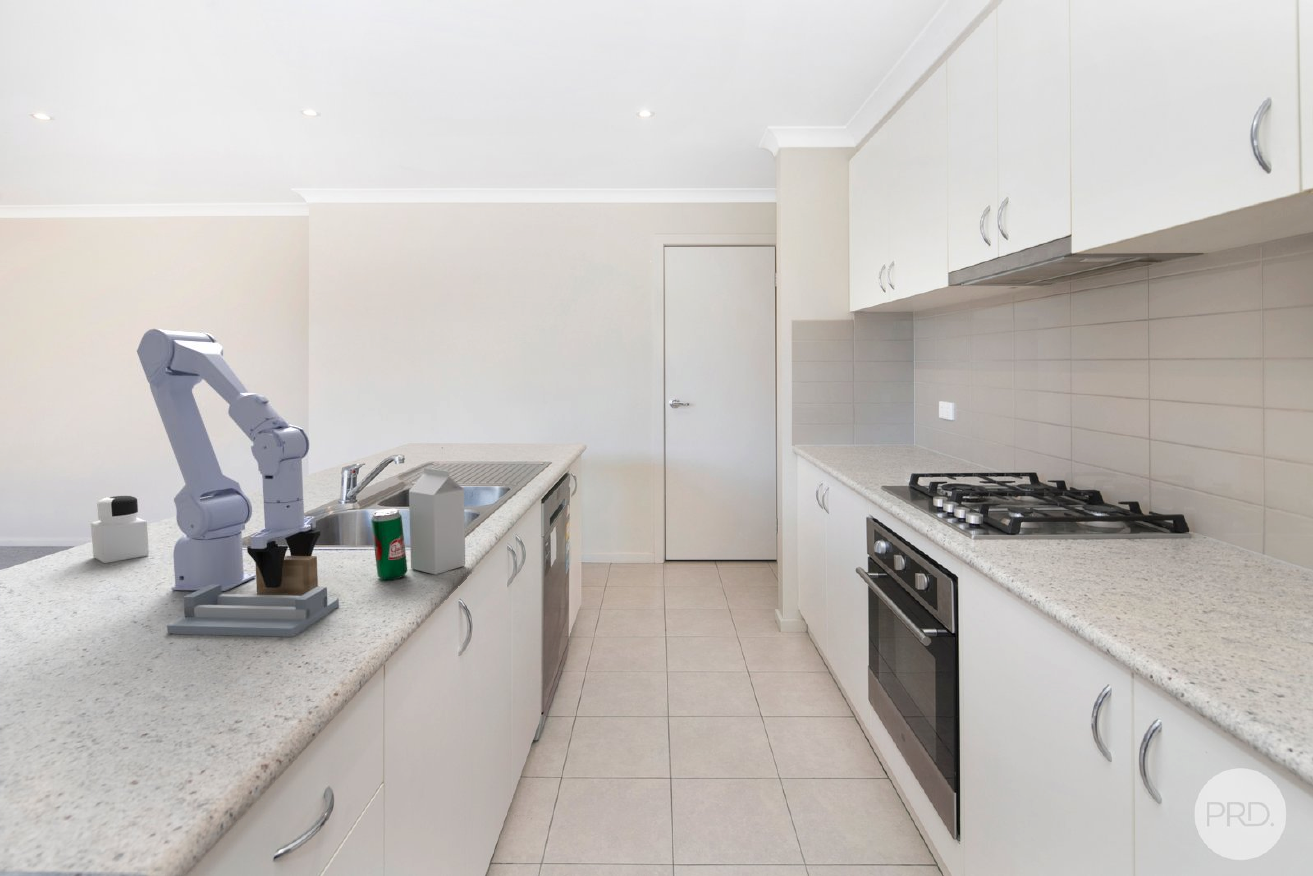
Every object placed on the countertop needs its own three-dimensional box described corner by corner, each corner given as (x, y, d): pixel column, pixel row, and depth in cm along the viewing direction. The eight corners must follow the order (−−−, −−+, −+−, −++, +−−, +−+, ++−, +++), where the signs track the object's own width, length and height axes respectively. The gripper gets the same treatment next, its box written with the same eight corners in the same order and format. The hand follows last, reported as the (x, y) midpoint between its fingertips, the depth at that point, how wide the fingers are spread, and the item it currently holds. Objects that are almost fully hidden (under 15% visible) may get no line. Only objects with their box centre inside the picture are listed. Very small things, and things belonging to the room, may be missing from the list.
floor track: (167, 633, 89) (165, 604, 88) (227, 603, 101) (226, 577, 100) (293, 636, 88) (291, 607, 88) (338, 606, 100) (337, 580, 100)
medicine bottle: (137, 549, 131) (133, 492, 130) (149, 555, 127) (145, 496, 125) (92, 557, 125) (88, 497, 124) (103, 564, 121) (99, 502, 120)
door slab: (256, 594, 105) (255, 559, 105) (266, 589, 108) (264, 555, 107) (309, 595, 105) (308, 560, 105) (318, 590, 108) (316, 556, 107)
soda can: (396, 581, 112) (388, 516, 110) (371, 580, 113) (363, 515, 111) (413, 571, 117) (406, 508, 115) (390, 570, 118) (382, 507, 116)
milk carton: (435, 575, 116) (433, 473, 114) (410, 569, 120) (407, 469, 118) (465, 566, 122) (464, 468, 120) (441, 560, 126) (439, 465, 124)
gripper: (280, 509, 98) (284, 594, 99) (331, 492, 112) (334, 567, 113) (235, 508, 98) (240, 593, 99) (292, 491, 112) (295, 566, 114)
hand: (287, 579), depth 106 cm, fingers open, 7 cm apart
